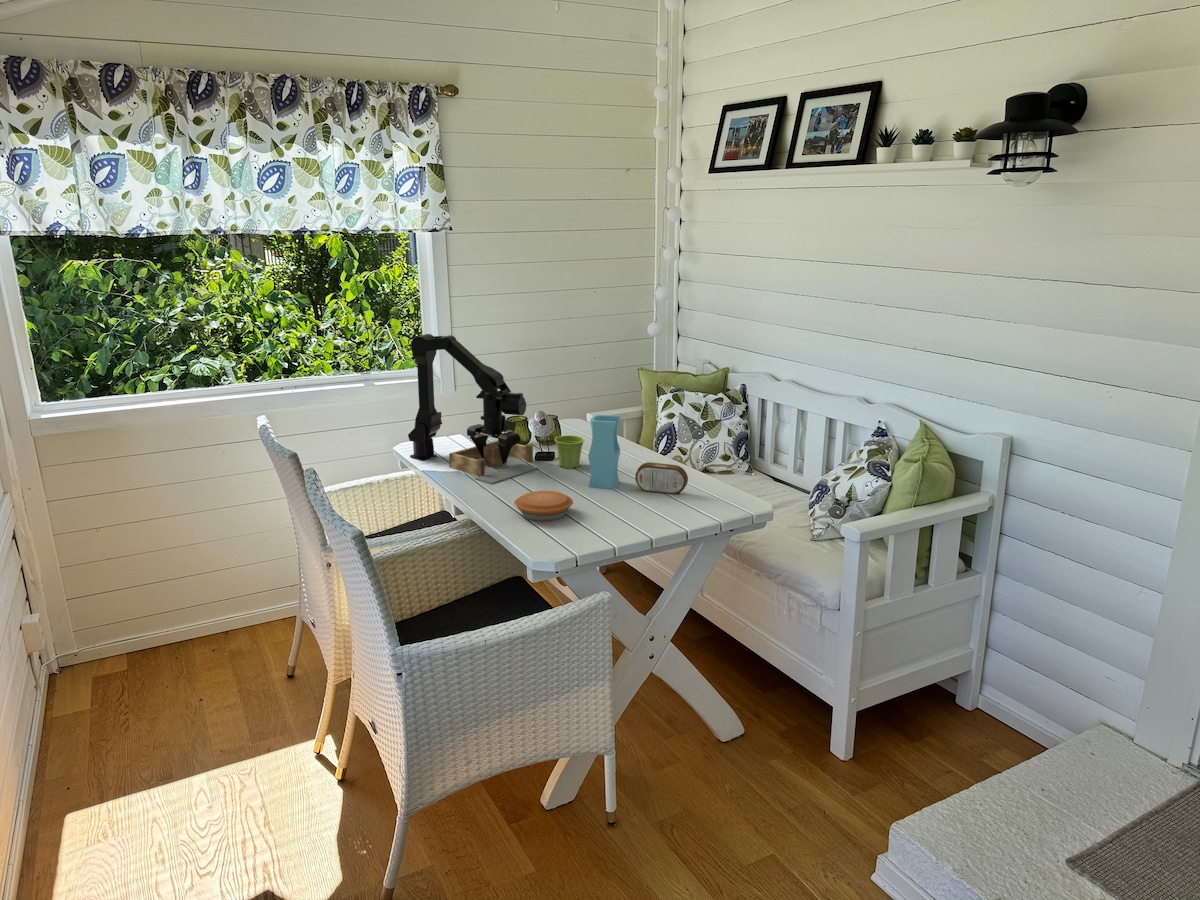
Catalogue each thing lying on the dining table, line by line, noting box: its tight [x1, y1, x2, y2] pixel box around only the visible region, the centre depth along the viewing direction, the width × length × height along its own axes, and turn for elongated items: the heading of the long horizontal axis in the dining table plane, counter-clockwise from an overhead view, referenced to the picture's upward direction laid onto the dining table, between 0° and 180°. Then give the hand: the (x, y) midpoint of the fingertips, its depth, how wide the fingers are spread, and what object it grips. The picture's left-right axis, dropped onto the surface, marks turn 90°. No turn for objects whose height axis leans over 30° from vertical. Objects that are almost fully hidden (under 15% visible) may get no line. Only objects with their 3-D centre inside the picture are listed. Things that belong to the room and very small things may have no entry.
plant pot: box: [554, 434, 585, 469], centre depth 275 cm, size 9×9×9 cm
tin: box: [634, 461, 689, 495], centre depth 251 cm, size 15×3×8 cm, turn 74°
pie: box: [514, 490, 574, 522], centre depth 234 cm, size 16×16×5 cm
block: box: [484, 444, 505, 469], centre depth 276 cm, size 4×4×6 cm
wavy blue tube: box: [587, 414, 621, 490], centre depth 256 cm, size 8×8×20 cm
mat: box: [474, 462, 540, 485], centre depth 268 cm, size 7×20×1 cm, turn 140°
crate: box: [448, 439, 534, 477], centre depth 277 cm, size 14×23×5 cm, turn 140°
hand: (494, 460), depth 277 cm, fingers open, 9 cm apart
